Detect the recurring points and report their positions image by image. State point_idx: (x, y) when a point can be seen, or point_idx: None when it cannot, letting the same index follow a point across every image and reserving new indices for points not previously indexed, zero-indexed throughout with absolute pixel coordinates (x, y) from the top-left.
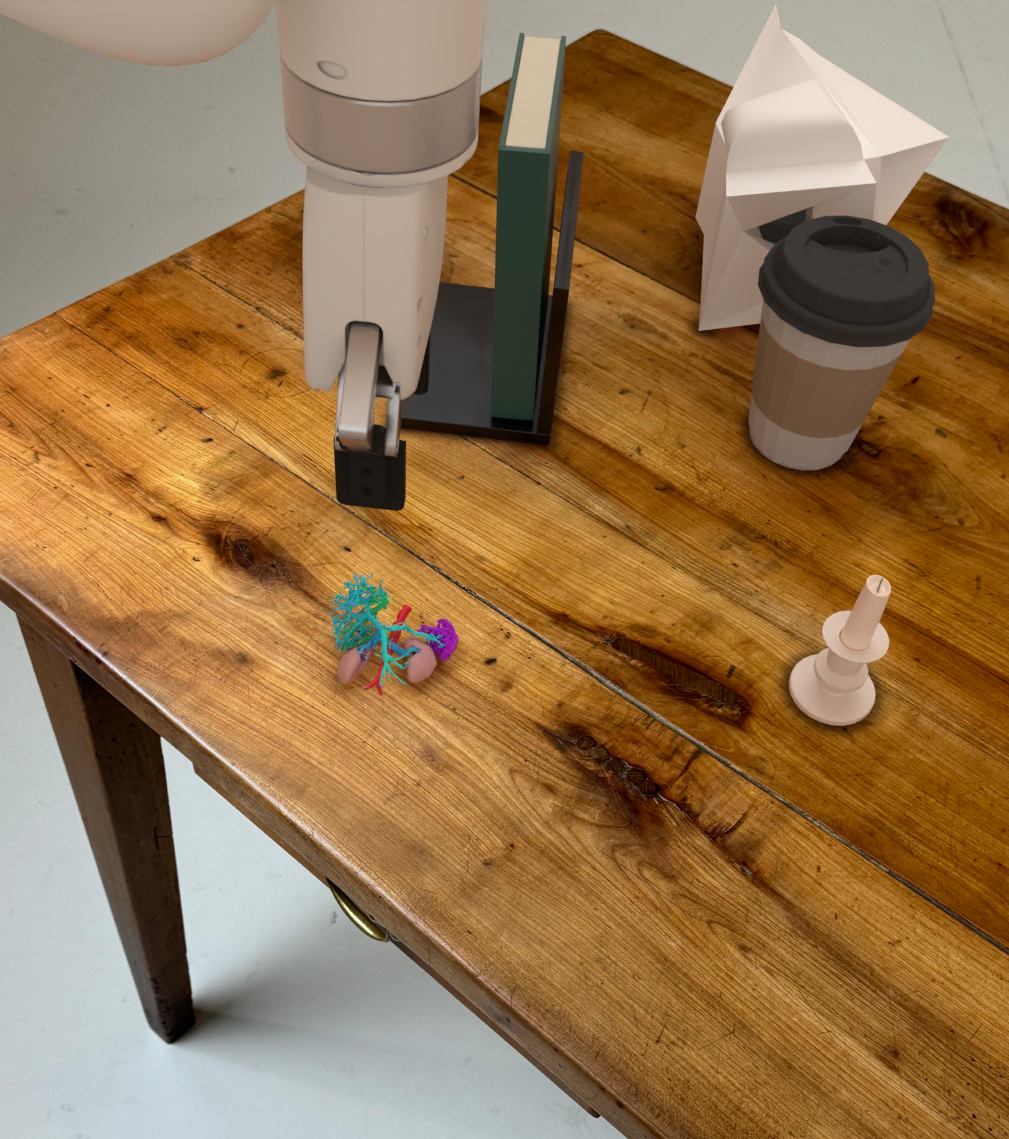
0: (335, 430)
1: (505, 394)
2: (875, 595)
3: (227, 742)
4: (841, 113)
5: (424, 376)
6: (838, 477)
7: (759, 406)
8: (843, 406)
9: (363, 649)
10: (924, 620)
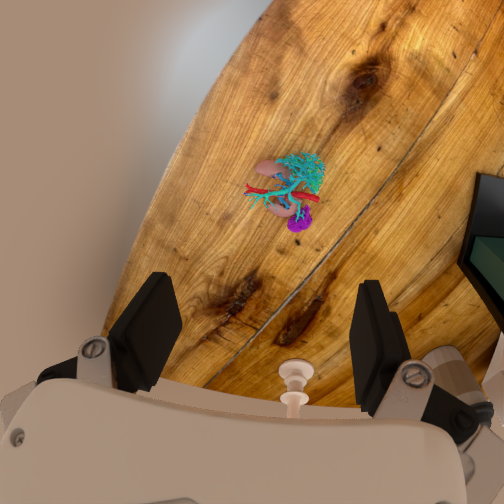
0: (78, 359)
1: (482, 252)
2: None
3: (209, 105)
4: None
5: (351, 355)
6: None
7: (444, 364)
8: None
9: (278, 176)
10: (334, 393)
